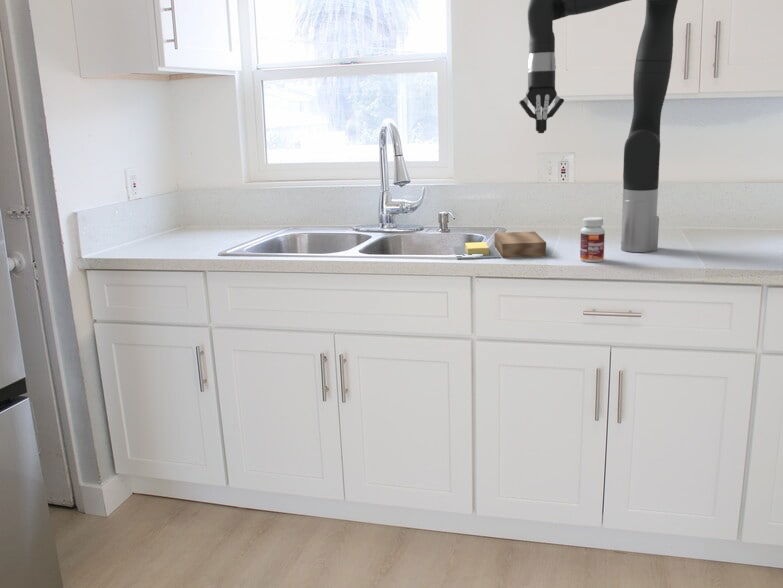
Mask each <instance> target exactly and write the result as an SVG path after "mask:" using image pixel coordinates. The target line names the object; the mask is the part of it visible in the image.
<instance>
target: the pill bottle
mask: <svg viewBox="0 0 783 588" xmlns="http://www.w3.org/2000/svg"><path fill="white" fill-rule="evenodd" d="M603 225H604V218H603V217H599V216H598V217H596V216H588V217H584V218H583V219H582V226H584V227H582V228H581V229H580V244H579V245H580V250H579V251H580V252H579V259H580V261H582V262H583V263H584V262H586V263H600V262H602V261H604V260H605V258H604V257H605V235H606V232H605V229H604V228H603Z"/></svg>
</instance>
